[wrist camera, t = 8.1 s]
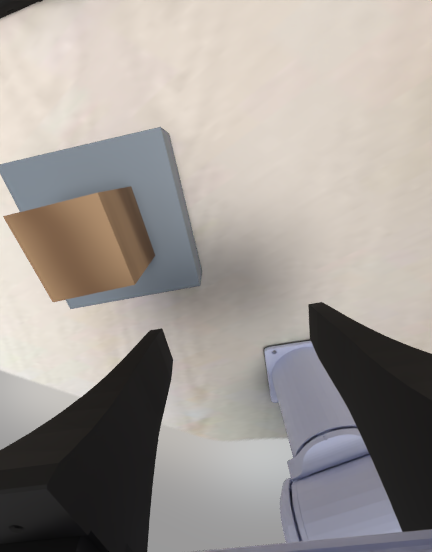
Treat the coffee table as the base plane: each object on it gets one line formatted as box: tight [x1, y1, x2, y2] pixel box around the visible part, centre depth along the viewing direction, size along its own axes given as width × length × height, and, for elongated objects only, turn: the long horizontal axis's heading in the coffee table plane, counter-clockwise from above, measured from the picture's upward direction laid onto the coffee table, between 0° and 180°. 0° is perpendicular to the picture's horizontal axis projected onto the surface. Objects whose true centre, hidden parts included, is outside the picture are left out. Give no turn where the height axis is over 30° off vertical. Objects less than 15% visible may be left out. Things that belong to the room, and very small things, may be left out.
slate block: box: [0, 127, 202, 309], centre depth 19 cm, size 11×11×4 cm
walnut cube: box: [3, 186, 155, 302], centre depth 15 cm, size 5×5×5 cm
